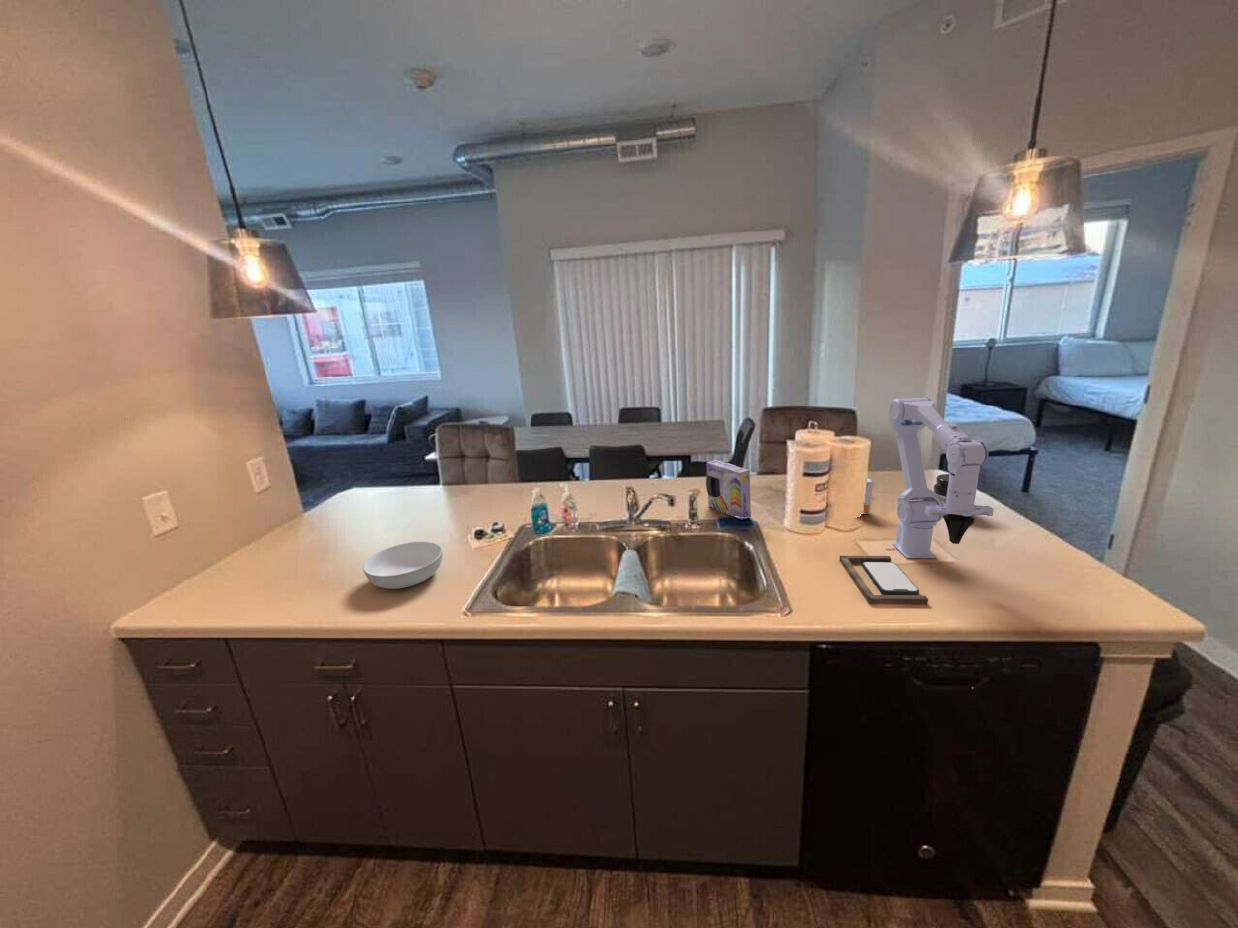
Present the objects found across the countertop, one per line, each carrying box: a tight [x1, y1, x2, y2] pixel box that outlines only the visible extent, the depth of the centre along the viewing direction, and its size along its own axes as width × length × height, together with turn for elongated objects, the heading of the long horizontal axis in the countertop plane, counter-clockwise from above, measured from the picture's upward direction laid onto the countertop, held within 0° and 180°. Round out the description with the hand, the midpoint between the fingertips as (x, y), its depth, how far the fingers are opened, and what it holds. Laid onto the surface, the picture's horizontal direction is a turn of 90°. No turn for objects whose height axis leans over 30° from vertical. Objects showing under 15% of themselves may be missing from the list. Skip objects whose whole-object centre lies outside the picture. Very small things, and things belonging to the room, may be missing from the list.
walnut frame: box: [838, 555, 929, 606], centre depth 127 cm, size 22×13×2 cm, turn 174°
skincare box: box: [864, 477, 874, 515], centre depth 168 cm, size 6×4×12 cm
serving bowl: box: [362, 541, 443, 590], centre depth 141 cm, size 21×21×7 cm
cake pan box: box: [705, 459, 752, 517], centre depth 174 cm, size 19×5×18 cm, turn 28°
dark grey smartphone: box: [861, 561, 920, 595], centre depth 128 cm, size 9×2×16 cm
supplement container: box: [933, 473, 950, 505], centre depth 165 cm, size 10×10×12 cm
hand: (954, 542), depth 123 cm, fingers closed
